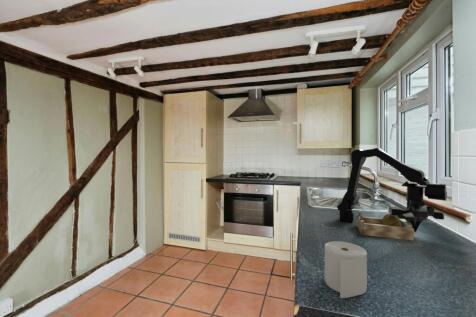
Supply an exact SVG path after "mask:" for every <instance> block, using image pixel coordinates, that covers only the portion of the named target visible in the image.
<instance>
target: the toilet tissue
mask: <svg viewBox="0 0 476 317" xmlns="http://www.w3.org/2000/svg"><path fill="white" fill-rule="evenodd" d="M367 264H368V252H367V250H366V249H365V248H364V247H362V246H359V245H357V244H355V243H352V242H348V241H347V242H346V241H343V240H342V241H341V240H340V241H339V240H338V241H336V240H334V241H333V240H332V241H329V242H326V243H325V244H324V276H323V277H324V283H325V284H326V285H327V287H329V288H330V289H332V290H333V291H336V292H338V293H339V298H340V299H346V298H351V297H356V296H361V295H363V294H365V293H366V292H367V290H368V288H367V287H368V286H367V284H368V283H367V280H368V279H367V278H368V265H367Z"/></svg>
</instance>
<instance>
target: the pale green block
mask: <svg viewBox="0 0 476 317" xmlns="http://www.w3.org/2000/svg"><path fill="white" fill-rule="evenodd" d="M400 220H401V222H402V226H403V227H407V228H412V225H411V224H410V223H408V222H407V221H406V220H405V219H400Z"/></svg>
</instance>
